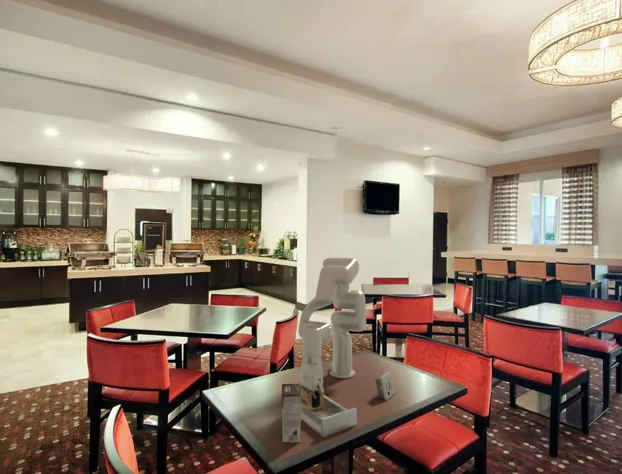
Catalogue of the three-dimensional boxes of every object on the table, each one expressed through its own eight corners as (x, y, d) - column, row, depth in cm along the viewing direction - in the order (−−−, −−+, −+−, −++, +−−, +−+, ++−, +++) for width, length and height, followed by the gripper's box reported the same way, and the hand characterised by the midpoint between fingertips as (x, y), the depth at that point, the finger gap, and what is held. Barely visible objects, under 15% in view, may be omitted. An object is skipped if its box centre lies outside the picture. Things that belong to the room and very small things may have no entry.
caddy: (288, 409, 144) (288, 395, 144) (319, 400, 152) (319, 386, 152) (323, 437, 124) (323, 420, 124) (356, 424, 132) (356, 408, 132)
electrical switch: (386, 401, 151) (384, 378, 152) (375, 398, 154) (373, 376, 155) (396, 393, 158) (394, 371, 159) (385, 391, 162) (384, 370, 162)
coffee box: (281, 429, 129) (281, 383, 129) (299, 428, 130) (299, 382, 130) (281, 443, 120) (281, 394, 120) (301, 442, 120) (301, 393, 121)
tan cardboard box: (300, 406, 143) (300, 388, 143) (316, 401, 147) (316, 383, 147) (307, 411, 139) (306, 392, 139) (324, 406, 143) (324, 388, 143)
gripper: (292, 354, 148) (293, 398, 148) (316, 366, 134) (316, 415, 134) (308, 350, 152) (308, 394, 152) (332, 362, 138) (332, 410, 138)
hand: (312, 403), depth 143 cm, fingers closed on tan cardboard box, 5 cm apart
